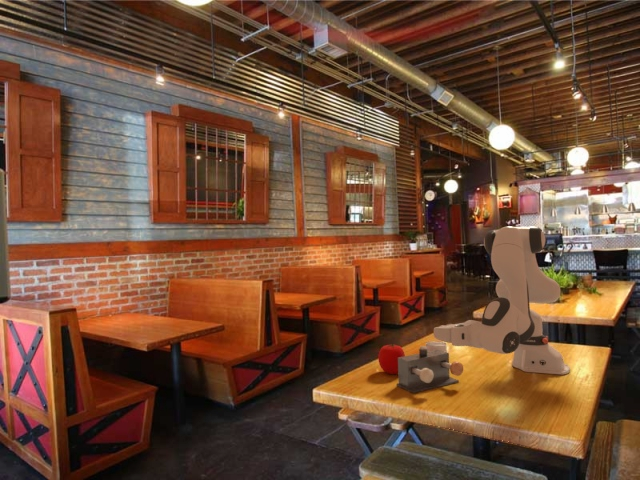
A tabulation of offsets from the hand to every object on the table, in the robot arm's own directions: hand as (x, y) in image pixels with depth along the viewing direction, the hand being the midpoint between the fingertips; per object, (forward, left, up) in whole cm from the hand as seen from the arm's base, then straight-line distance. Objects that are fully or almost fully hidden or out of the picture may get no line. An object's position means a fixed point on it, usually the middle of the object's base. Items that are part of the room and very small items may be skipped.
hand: (444, 326), depth 161 cm
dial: (+12, -8, -14) cm, 20 cm away
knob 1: (+9, +2, -20) cm, 23 cm away
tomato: (+28, -14, -25) cm, 40 cm away
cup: (+12, -25, -25) cm, 37 cm away
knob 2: (+2, -11, -21) cm, 24 cm away
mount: (+10, -7, -25) cm, 28 cm away
